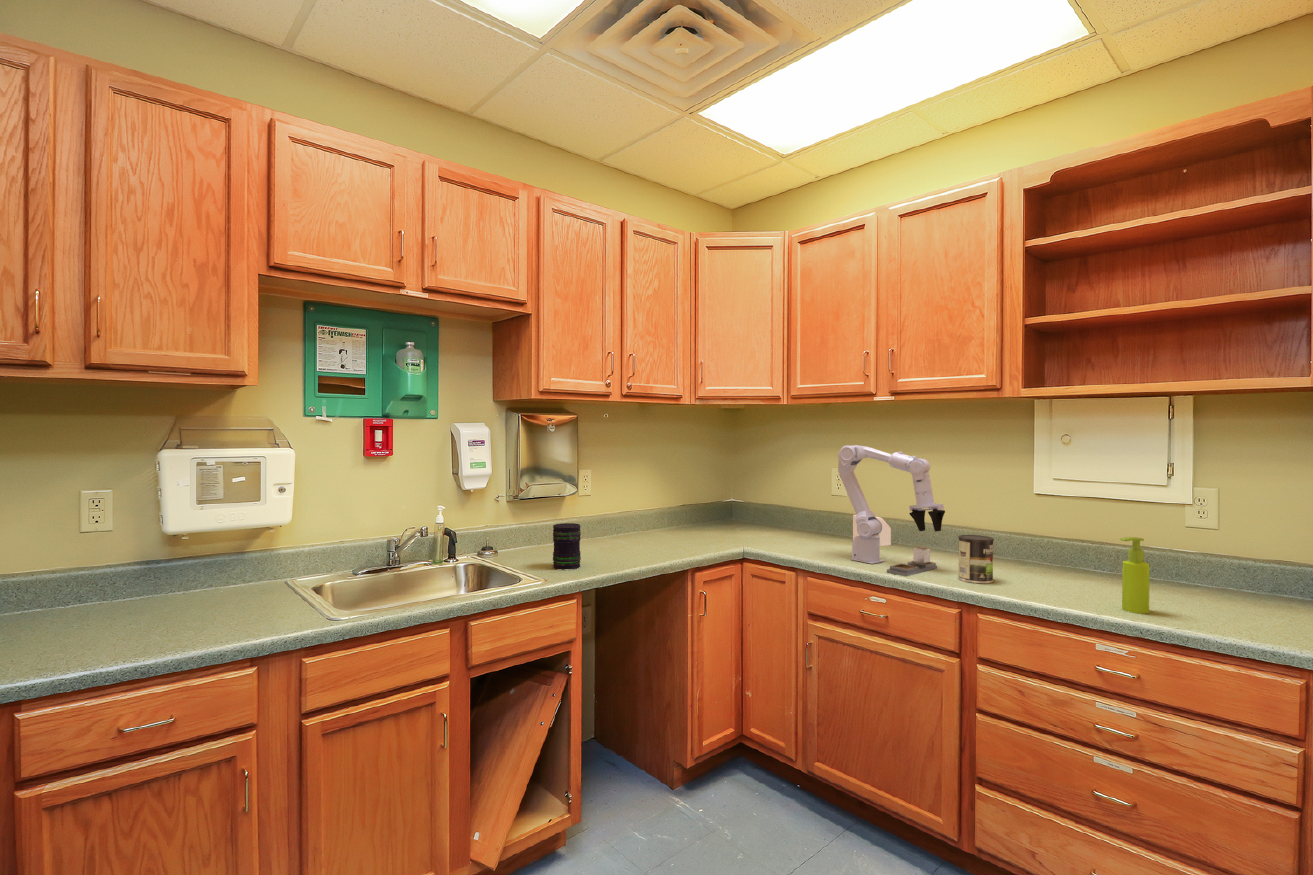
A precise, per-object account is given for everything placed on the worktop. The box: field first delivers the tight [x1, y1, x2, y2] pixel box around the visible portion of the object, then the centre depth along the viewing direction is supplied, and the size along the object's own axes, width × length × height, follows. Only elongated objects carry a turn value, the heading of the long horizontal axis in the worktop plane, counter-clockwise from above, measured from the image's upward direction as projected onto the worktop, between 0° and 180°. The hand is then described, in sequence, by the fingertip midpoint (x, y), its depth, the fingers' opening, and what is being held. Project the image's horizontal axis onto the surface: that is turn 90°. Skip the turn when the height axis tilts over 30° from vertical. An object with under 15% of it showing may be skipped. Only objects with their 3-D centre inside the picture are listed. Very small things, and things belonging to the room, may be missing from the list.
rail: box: [886, 560, 938, 577], centre depth 219 cm, size 7×20×2 cm, turn 127°
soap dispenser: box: [1119, 536, 1151, 615], centre depth 171 cm, size 6×7×20 cm
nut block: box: [912, 546, 931, 565], centre depth 223 cm, size 4×4×6 cm
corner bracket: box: [852, 514, 892, 547], centre depth 270 cm, size 11×11×12 cm
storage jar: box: [552, 522, 582, 570], centre depth 224 cm, size 10×10×15 cm
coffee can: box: [958, 534, 995, 585], centre depth 206 cm, size 10×10×14 cm
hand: (930, 531), depth 220 cm, fingers open, 7 cm apart
